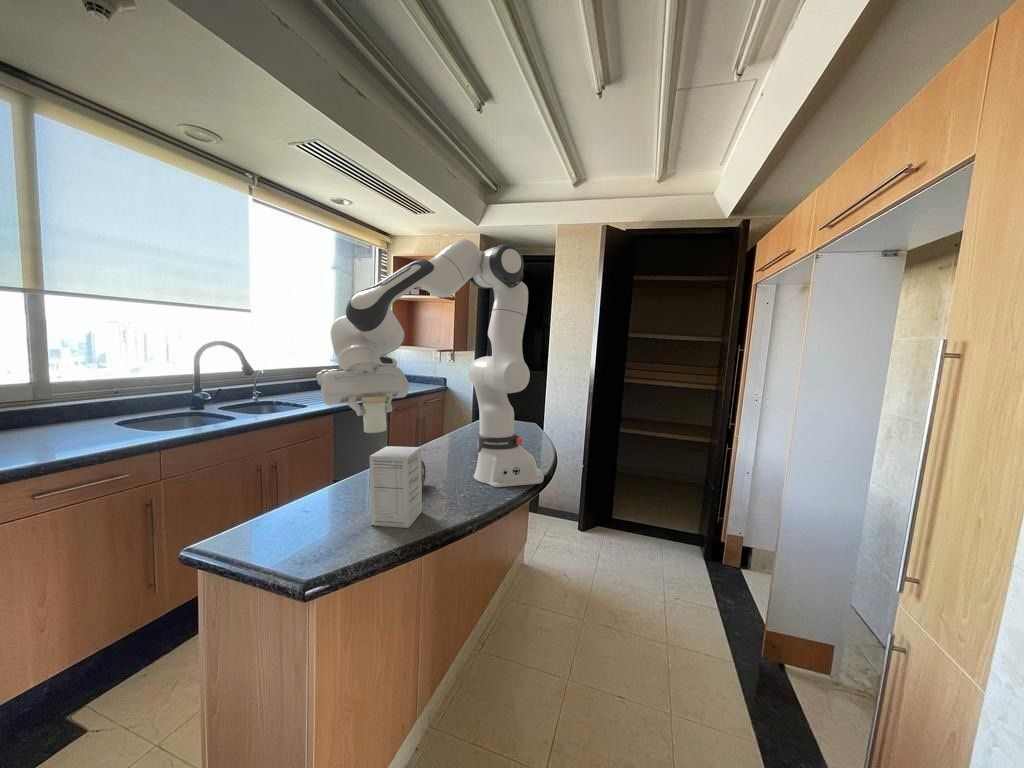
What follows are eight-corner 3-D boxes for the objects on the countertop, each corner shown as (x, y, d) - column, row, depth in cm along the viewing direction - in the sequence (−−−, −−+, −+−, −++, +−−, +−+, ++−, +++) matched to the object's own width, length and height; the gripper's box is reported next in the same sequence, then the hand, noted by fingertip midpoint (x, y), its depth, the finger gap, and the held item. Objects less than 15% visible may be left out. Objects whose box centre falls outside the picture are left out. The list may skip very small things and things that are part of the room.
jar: (389, 427, 92) (388, 395, 92) (384, 432, 87) (382, 398, 86) (367, 428, 92) (365, 395, 91) (359, 433, 87) (358, 398, 86)
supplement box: (423, 511, 96) (423, 446, 94) (409, 528, 87) (408, 457, 85) (387, 509, 97) (386, 445, 96) (369, 525, 88) (368, 455, 86)
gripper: (316, 361, 87) (329, 409, 80) (401, 358, 99) (419, 399, 93) (312, 379, 90) (325, 426, 84) (395, 374, 103) (412, 415, 97)
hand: (375, 412), depth 89 cm, fingers closed on jar, 5 cm apart
